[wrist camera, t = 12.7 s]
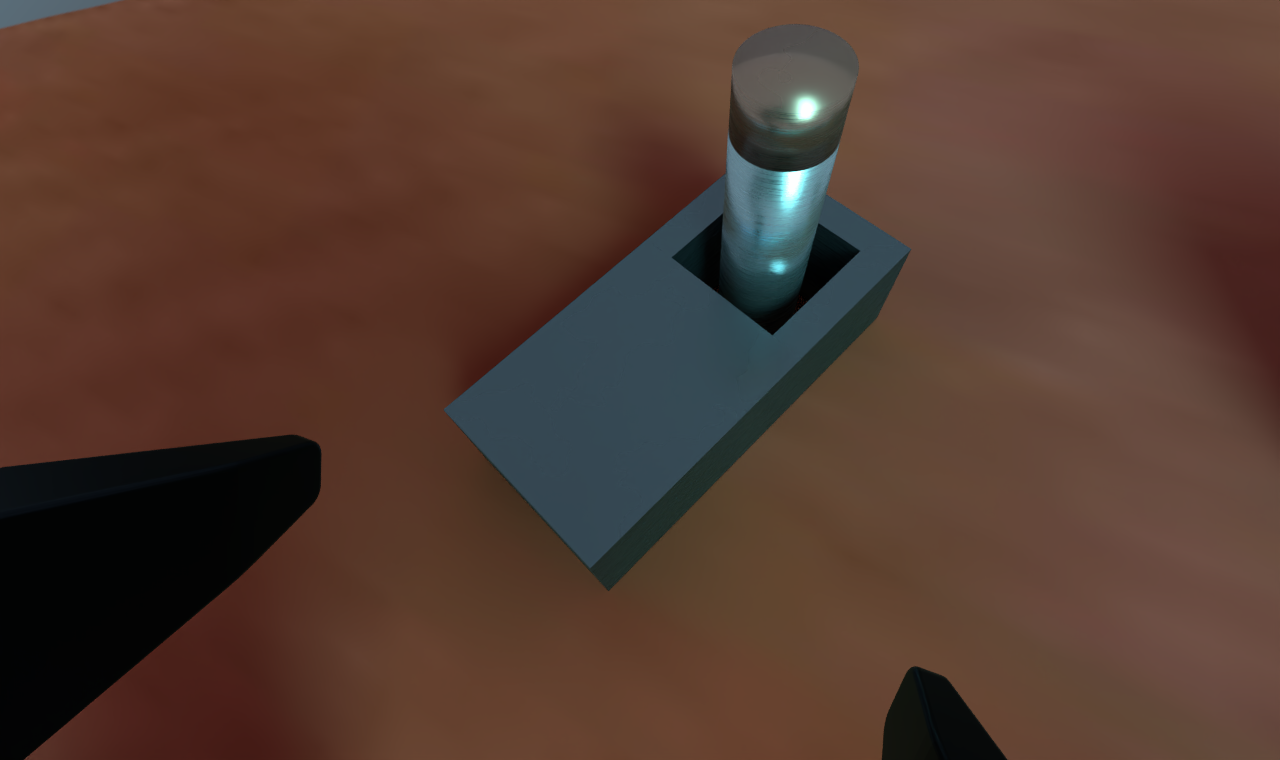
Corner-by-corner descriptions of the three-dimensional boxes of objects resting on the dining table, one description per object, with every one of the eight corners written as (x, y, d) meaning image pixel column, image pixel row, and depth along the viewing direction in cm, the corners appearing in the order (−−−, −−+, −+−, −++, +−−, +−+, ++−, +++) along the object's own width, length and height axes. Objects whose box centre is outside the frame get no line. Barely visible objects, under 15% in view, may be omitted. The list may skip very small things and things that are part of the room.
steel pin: (757, 367, 25) (804, 128, 15) (701, 323, 26) (707, 70, 16) (805, 320, 26) (884, 59, 15) (749, 278, 27) (786, 8, 16)
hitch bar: (608, 590, 22) (590, 568, 18) (483, 456, 24) (443, 409, 20) (876, 318, 26) (911, 249, 22) (745, 225, 28) (755, 148, 24)
